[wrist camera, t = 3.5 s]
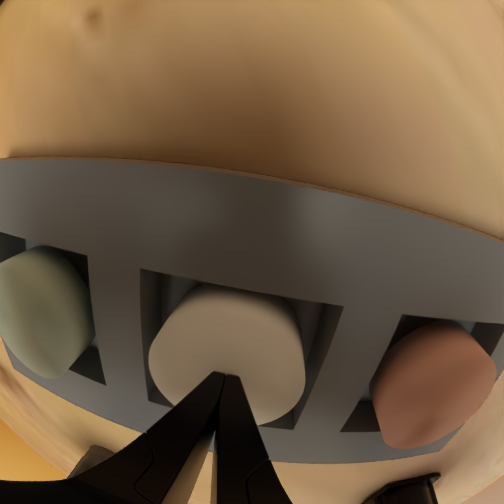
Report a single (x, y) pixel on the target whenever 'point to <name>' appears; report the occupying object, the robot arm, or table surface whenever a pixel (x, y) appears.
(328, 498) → the table surface
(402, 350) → the terracotta button
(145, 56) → the table surface
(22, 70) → the table surface
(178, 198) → the button panel
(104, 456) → the beverage cup
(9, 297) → the sage button
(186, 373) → the cream button
